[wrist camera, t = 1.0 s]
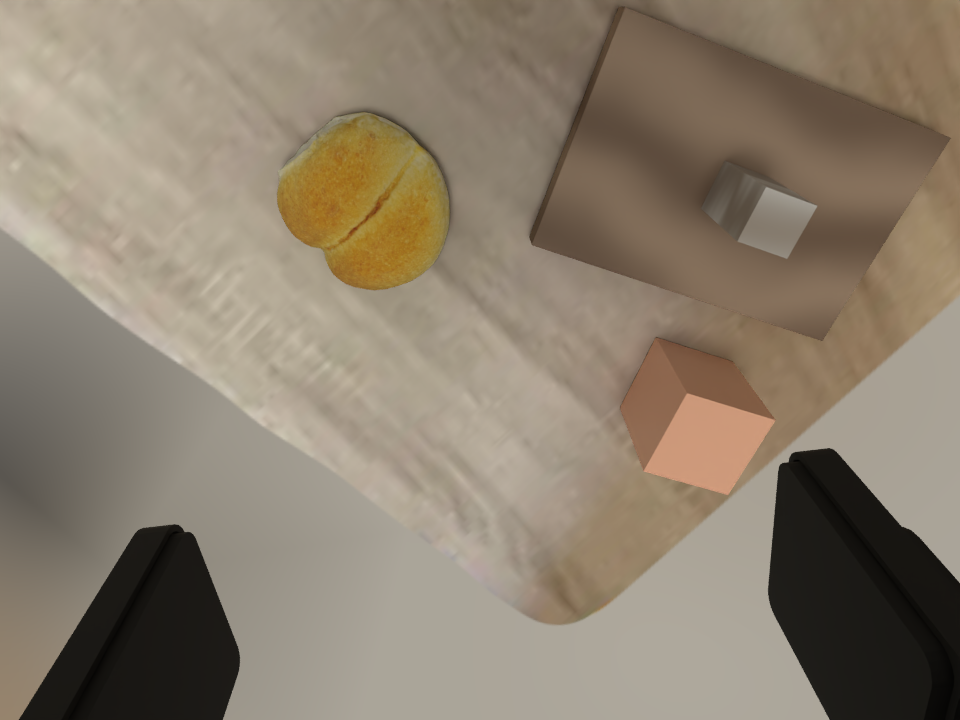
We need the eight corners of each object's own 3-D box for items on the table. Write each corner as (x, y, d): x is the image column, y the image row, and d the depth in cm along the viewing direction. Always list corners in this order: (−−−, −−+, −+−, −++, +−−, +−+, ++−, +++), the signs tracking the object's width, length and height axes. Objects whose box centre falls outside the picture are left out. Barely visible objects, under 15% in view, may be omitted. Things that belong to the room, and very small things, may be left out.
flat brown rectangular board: (618, 6, 33) (653, 9, 27) (933, 132, 36) (1029, 160, 30) (529, 236, 38) (541, 282, 32) (810, 330, 41) (871, 388, 35)
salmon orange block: (655, 337, 42) (687, 393, 36) (732, 361, 42) (775, 420, 37) (619, 407, 44) (643, 471, 38) (693, 429, 45) (728, 494, 39)
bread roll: (376, 303, 40) (367, 333, 37) (260, 186, 37) (238, 205, 34) (485, 214, 38) (487, 236, 35) (371, 79, 35) (360, 89, 31)
